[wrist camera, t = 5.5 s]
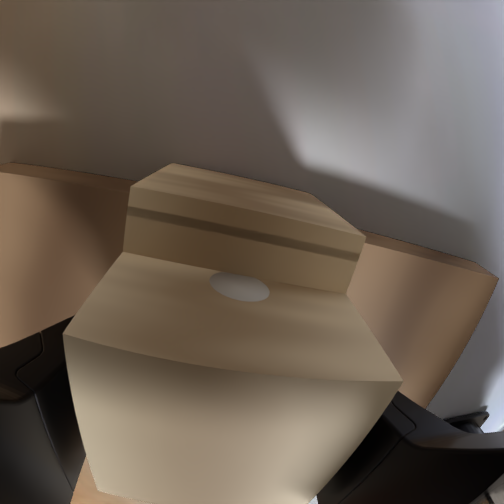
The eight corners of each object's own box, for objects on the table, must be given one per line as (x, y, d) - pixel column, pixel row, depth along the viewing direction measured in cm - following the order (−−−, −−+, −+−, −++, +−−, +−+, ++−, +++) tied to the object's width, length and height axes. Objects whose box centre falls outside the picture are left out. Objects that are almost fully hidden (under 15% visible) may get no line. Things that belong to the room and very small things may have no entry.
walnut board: (474, 262, 13) (499, 279, 11) (382, 427, 17) (393, 450, 15) (10, 162, 10) (-20, 170, 8) (29, 378, 14) (15, 401, 12)
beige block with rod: (310, 193, 11) (444, 305, 4) (236, 424, 15) (246, 558, 8) (171, 162, 11) (58, 232, 3) (144, 409, 15) (119, 543, 7)
